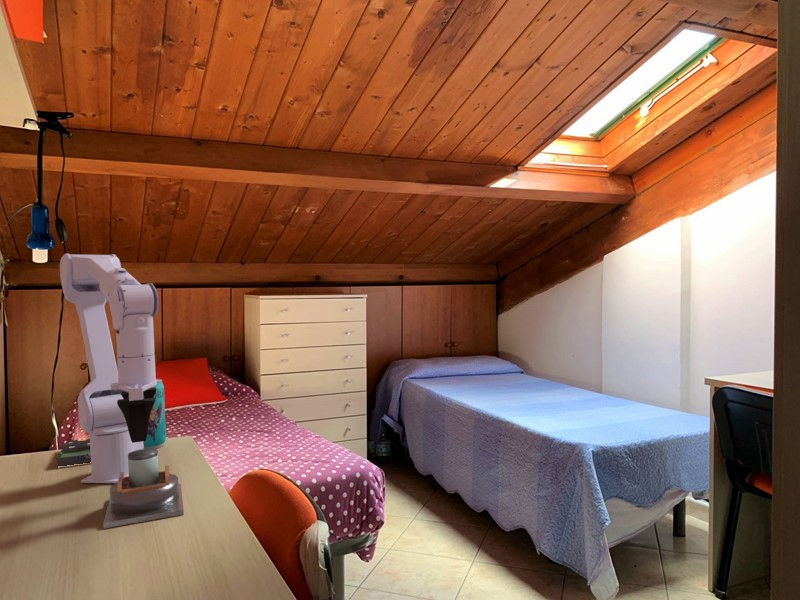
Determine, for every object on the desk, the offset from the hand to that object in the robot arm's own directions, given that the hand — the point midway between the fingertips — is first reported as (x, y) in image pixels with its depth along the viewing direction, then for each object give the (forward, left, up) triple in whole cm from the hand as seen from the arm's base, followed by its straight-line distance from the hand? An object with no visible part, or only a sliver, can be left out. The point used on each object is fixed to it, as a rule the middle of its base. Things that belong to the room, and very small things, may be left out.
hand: (139, 436), depth 95 cm
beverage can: (-30, -16, -11) cm, 36 cm away
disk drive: (-24, -27, -11) cm, 38 cm away
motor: (+4, +3, -10) cm, 12 cm away
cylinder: (+4, +3, -7) cm, 8 cm away
